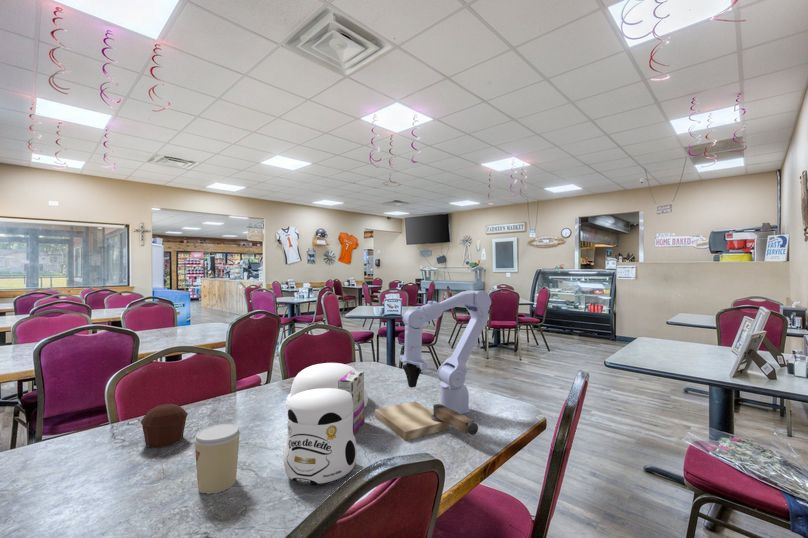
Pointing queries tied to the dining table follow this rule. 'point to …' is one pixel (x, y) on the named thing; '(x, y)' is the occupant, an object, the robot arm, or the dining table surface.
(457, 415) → the stool leg
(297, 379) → the dome cover
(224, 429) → the coffee cup
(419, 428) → the stool seat
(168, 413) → the muffin
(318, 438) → the doce de leite jar
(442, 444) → the dining table surface
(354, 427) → the candy bar box
